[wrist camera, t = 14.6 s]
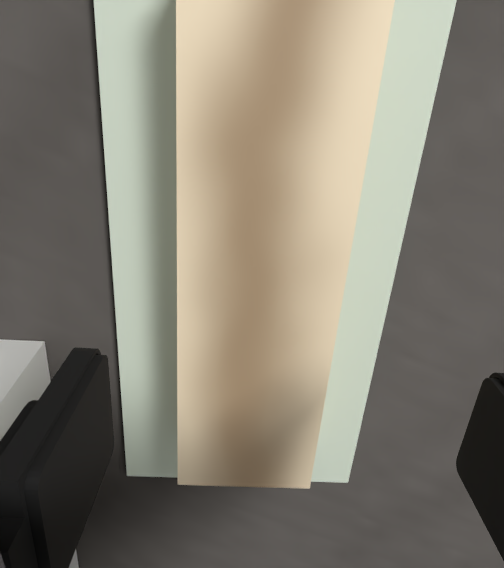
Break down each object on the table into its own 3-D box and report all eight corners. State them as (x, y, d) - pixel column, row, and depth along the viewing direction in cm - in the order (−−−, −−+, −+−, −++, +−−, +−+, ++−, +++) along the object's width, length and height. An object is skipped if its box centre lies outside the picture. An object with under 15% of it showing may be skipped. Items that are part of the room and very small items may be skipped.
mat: (478, -125, 14) (486, -132, 14) (345, 475, 25) (347, 482, 25) (86, -165, 13) (81, -173, 13) (128, 468, 25) (126, 475, 24)
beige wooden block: (372, -21, 15) (402, -41, 12) (301, 439, 23) (309, 488, 21) (187, -37, 14) (175, -62, 12) (184, 435, 23) (177, 484, 20)
